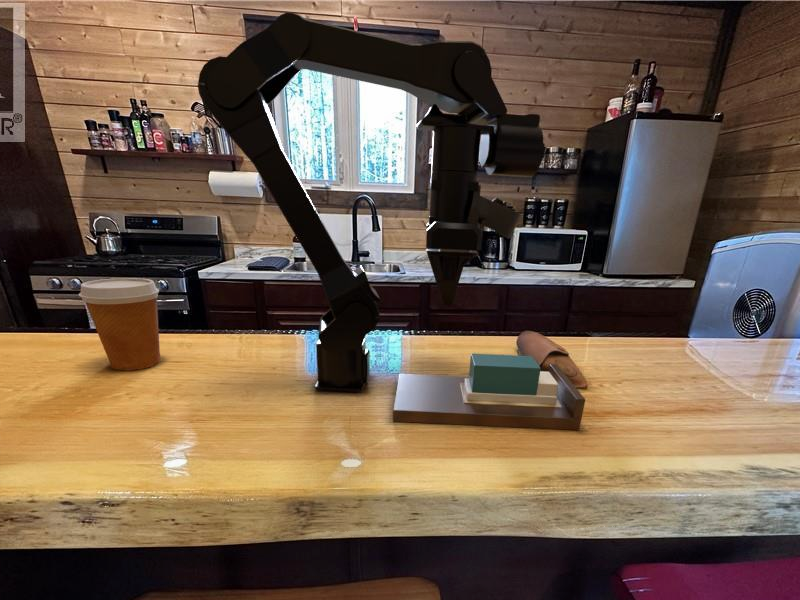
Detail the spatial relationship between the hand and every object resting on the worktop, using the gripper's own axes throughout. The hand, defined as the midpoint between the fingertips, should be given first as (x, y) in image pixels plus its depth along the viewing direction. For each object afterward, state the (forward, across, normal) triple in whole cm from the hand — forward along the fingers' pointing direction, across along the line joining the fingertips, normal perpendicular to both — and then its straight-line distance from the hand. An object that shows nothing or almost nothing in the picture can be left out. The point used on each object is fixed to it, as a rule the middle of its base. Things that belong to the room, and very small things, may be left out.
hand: (446, 299), depth 59 cm
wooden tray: (+12, -8, -5) cm, 15 cm away
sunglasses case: (+12, +8, -18) cm, 23 cm away
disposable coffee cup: (+12, +1, +46) cm, 48 cm away
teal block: (+10, -8, -8) cm, 16 cm away
